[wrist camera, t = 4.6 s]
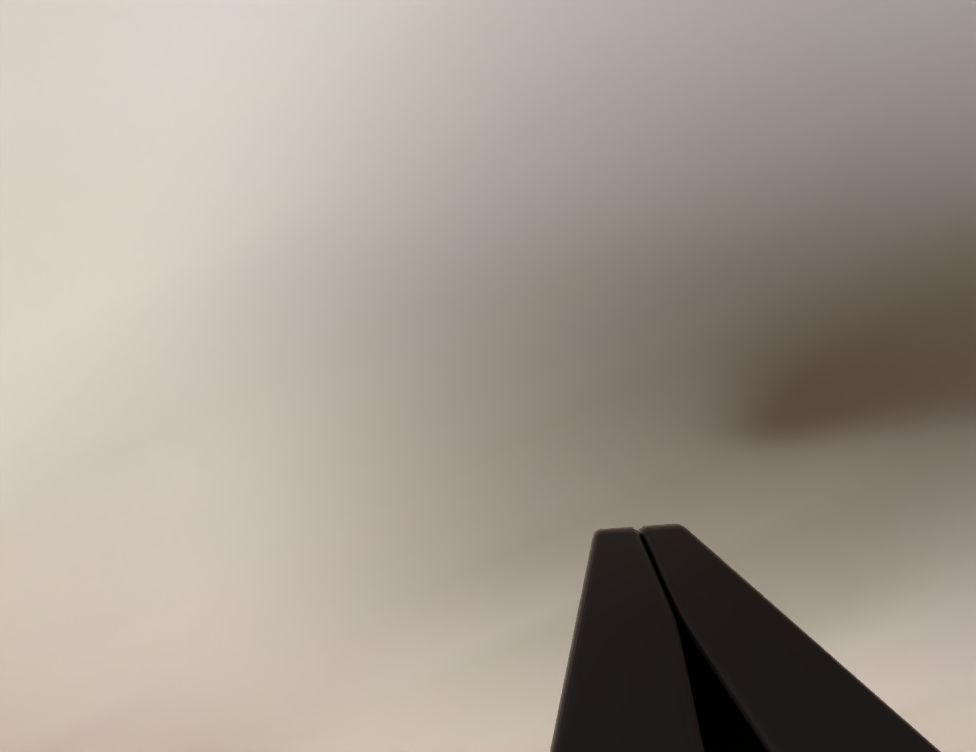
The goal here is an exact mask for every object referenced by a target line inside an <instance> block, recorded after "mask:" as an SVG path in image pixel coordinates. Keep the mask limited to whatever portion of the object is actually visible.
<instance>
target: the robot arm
mask: <svg viewBox="0 0 976 752" xmlns="http://www.w3.org/2000/svg"><path fill="white" fill-rule="evenodd" d="M550 752H940V751H939V750H938V749H937V748H936V747H935V746H934V745H932V744H931V743H930V742H929V741H928V740H927V739H926V738H924V737H923V736H922V735H921V734H920V733H919V732H918V731H916V730H915V729H914V728H913V727H912V726H911V725H910V724H909V723H907V722H906V721H905V720H904V719H903V718H902V717H901V716H899V715H898V714H897V713H896V712H895V711H894V710H893V709H891V708H890V707H889V706H888V705H887V704H886V703H885V702H883V701H882V700H881V699H880V698H879V697H878V696H877V695H875V694H874V693H873V692H872V691H871V690H870V689H869V688H868V687H866V686H865V685H864V684H863V683H862V682H861V681H860V680H858V679H857V678H856V677H855V676H854V675H853V674H852V673H850V672H849V671H848V670H847V669H846V668H845V667H844V666H842V665H841V664H840V663H839V662H838V661H837V660H836V659H835V658H833V657H832V656H831V655H830V654H829V653H828V652H827V651H825V650H824V649H823V648H822V647H821V646H820V645H819V644H817V643H816V642H815V641H814V640H813V639H812V638H811V637H809V636H808V635H807V634H806V633H805V632H804V631H803V630H801V629H800V628H799V627H798V626H797V625H796V624H795V623H794V622H792V621H791V620H790V619H789V618H788V617H787V616H786V615H784V614H783V613H782V612H781V611H780V610H779V609H778V608H776V607H775V606H774V605H773V604H772V603H771V602H770V601H768V600H767V599H766V598H765V597H764V596H763V595H762V594H760V593H759V592H758V591H757V590H756V589H755V588H754V587H753V586H751V585H750V584H749V583H748V582H747V581H746V580H745V579H743V578H742V577H741V576H740V575H739V574H738V573H737V572H735V571H734V570H733V569H732V568H731V567H730V566H729V565H727V564H726V563H725V562H724V561H723V560H722V559H721V558H720V557H718V556H717V555H716V554H715V553H714V552H713V551H712V550H710V549H709V548H708V547H707V546H706V545H705V544H704V543H702V542H701V541H700V540H699V539H698V538H697V537H696V536H694V535H693V534H692V533H691V532H690V531H689V530H688V529H686V528H685V527H683V526H681V525H679V524H667V525H652V526H644V527H642V528H641V529H639V531H637V530H636V529H634V528H632V527H624V528H610V529H599V530H597V531H596V532H595V533H594V535H593V539H592V544H591V549H590V554H589V559H588V564H587V569H586V574H585V579H584V584H583V589H582V594H581V599H580V604H579V609H578V614H577V619H576V624H575V629H574V634H573V639H572V644H571V649H570V654H569V659H568V664H567V669H566V674H565V679H564V684H563V689H562V694H561V699H560V704H559V709H558V714H557V719H556V724H555V729H554V734H553V739H552V744H551V749H550Z"/></svg>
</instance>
